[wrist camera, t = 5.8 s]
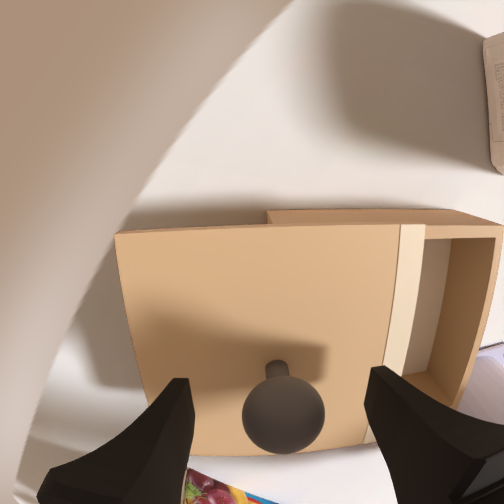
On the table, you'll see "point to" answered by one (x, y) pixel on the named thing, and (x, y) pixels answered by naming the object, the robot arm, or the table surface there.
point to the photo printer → (495, 96)
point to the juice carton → (214, 491)
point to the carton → (437, 290)
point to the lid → (271, 325)
